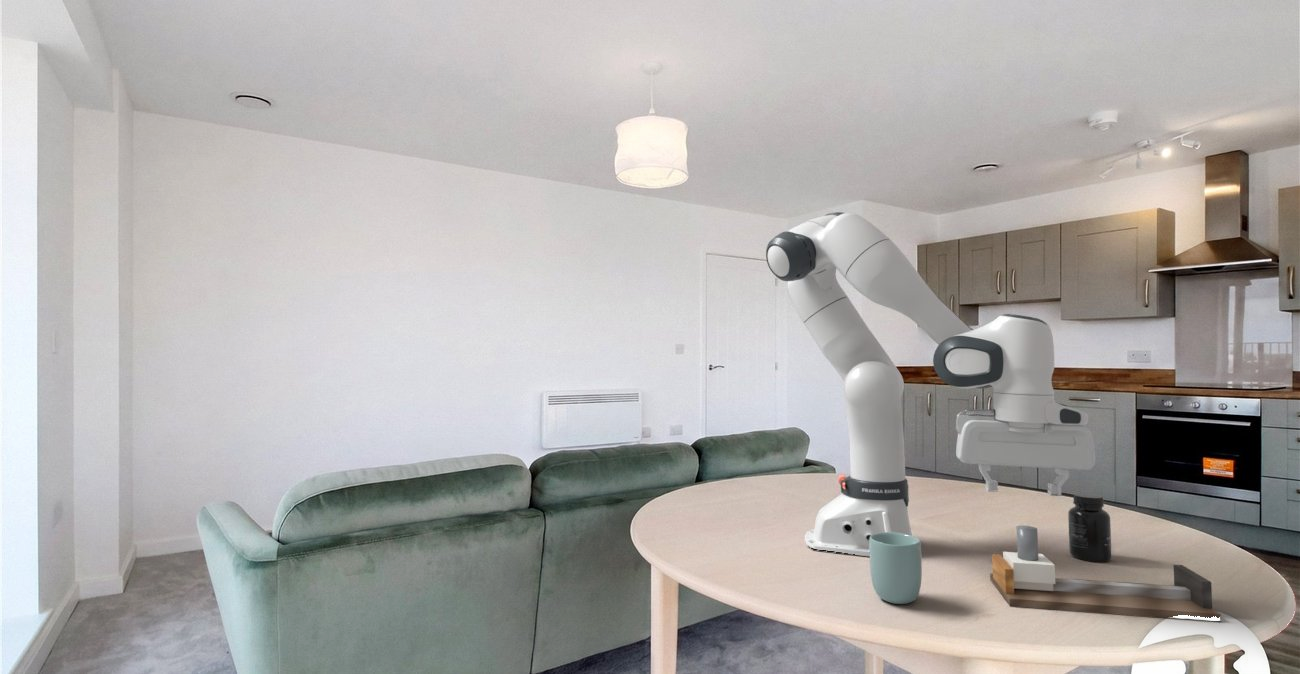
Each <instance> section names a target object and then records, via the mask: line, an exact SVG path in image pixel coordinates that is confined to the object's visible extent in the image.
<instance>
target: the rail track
mask: <svg viewBox="0 0 1300 674" xmlns="http://www.w3.org/2000/svg"><path fill="white" fill-rule="evenodd" d="M991 561H992V563H991V564H992V573H989V581H990V582H991V584H992V585H993V586H994V587H995V589H996V590H997V591H998V593H999V594H1000V595H1001V597H1002V598H1003V599H1004V601H1005V602H1006V603H1007V605H1008V606H1009V607H1015V608H1029V609H1039V610H1040V609H1042V610H1056V611H1067V612H1083V613H1096V614H1106V615H1107V614H1108V615H1121V616H1132V617H1133V616H1135V617H1147V618H1157V619H1158V618H1159V619H1161V618H1162V619H1169V618H1168V617H1173V616H1178V615H1188V616H1189V615H1190V616H1194V617H1195V616H1196V617H1197V616H1200V617H1205V618H1206V617H1207V618H1208V617H1209V618H1211V617H1213V616H1214V617H1215V616H1216V617H1217V618H1219V617H1220V616H1222V615H1221V613H1219V612H1218V611H1216V610H1215V609H1213V592H1212V591H1213V590H1212V581H1210V580H1208V579H1207V578H1205V577H1203V576H1201V575H1200V574H1198V573H1197V572H1194V571H1193V570H1191V569H1189V568H1188V567H1186V566H1184V565H1182V564H1173V565H1172V566H1173V568H1172V569H1173V585H1171V584H1159V583H1158V584H1157V583H1143V582H1126V581H1125V582H1124V581H1111V580H1097V579H1082V578H1081V579H1080V578H1079V579H1078V578H1067V577H1066V578H1065V577H1064V578H1063V577H1055V584H1053V591H1045V590H1031V589H1016V588H1014V576H1013V569H1012V568H1011V566H1010V565H1009V564H1008V563H1007V562H1006V561H1005V560H1004V559H1003V555H1001V554H998V553H995V554H994V553H991Z"/></svg>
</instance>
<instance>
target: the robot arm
mask: <svg viewBox="0 0 1300 674" xmlns="http://www.w3.org/2000/svg"><path fill="white" fill-rule="evenodd" d="M765 257H766V263H767V266H768V268H769V269H770V272H772V274H773V275H774V276H775V277H776V278H777V279H779V280H780V281H783V282H787V286H786V287H787V292H788V294H789V296H790V299H791V301H792V304H793V306H794V308H795V310H796V312H797V314H798V316H799V318H800V319H801V321H802V323H803V325H804V326H805V328H806V329H807V331H808V333H809V334H810V335H811V337H812V339H813V341H814V342H815V344H816V346H817V347H818V348H819V351H821V353H822V354H823V355H824V357H825V358H826V359H827V360H828V361H829V363H830V364H831V366H832V367H833V368H834V370H835V371H836V372H837V373H838V375H839V377H840V378H841V379H842V380H843V382H844V384H843V386H844V387H843V391H844V404H845V415H846V416H845V417H846V425H847V434H848V439H849V440H848V443H849V445H848V446H849V470H850V471H849V473H850V475H849V476H846V475H843V474H841V475H839V477H838V479H837V481H838V484H839V485H840V494H839V495H838V496H837V497H835V498H833V499H832V500H831V501H829V502H828V503H826V504H825V505H823V506H821V508H820V509H819V510H818V512H817V514H816V518H815V522H814V528H812V529H808V531H806V532H805V535H804V543H805V542H806V544H807V545H809V546H810V547H812V548H815V549H821V550H828V551H835V552H834V553H836V552H842V553H841V554H844V553H848V554H847V555H853V554H855V556H861V557H862V556H863V557H870V553H869V538H870V536H871V535H872V534H876V533H882V532H896V533H903V534H908V535H911V536H913V533H912V528H911V524H910V522H911V521H910V518H909V516H910V515H909V511H908V509H909V508H908V507H909V502H910V491H909V490H910V489H909V483H908V482H909V481H908V480H907V478H906V456H905V452H906V451H905V435H904V424H903V423H904V421H903V410H902V409H903V407H902V405H903V404H902V397H903V394H904V390H905V383H904V378H903V376H902V374H901V372H900V370H899V369H898V368H897V366H896V365H895V363H894V362H893V361H892V359H891V357H890V356H889V355H888V353H887V352H886V351H885V349H884V347H883V346H882V344H881V343H880V342H879V341H878V338H877V337H876V336H875V335H874V334H873V332H872V331H871V330H870V328H869V326H868V325H867V324H866V322H865V321H864V319H863V318H862V316H861V315H860V313H859V311H858V310H857V308H856V307H855V306H854V304H853V303H852V301H851V300H850V298H849V297H848V295H847V294H846V292H845V291H844V289H843V288H842V286H841V285H840V284H839V282H838V279H837V275H836V273H837V271H838V272H839V273H840V274H841V275H842V277H843V278H844V279H845V280H846V281H847V282H848V284H850V285H851V286H852V287H853V288H854V289H855V290H856V291H858V293H860V294H861V295H863V296H864V297H865V298H866V299H868V300H869V301H871V302H873V303H874V304H877V305H881V306H883V307H885V308H888V309H891V310H893V311H895V312H897V313H900V314H902V315H904V316H905V317H907V318H909V319H910V320H912V321H913V322H914V323H915V324H916V325H917V326H919V328H921V329H922V331H923V332H925V334H926V335H928V337H930V338H931V339H932V341H934V343H935V344H937V347H936V349H935V351H934V353H933V358H932V364H933V369H934V371H935V373H936V375H937V376H938V377H939V379H940V380H941V381H943V383H946V384H947V385H949V386H951V387H953V388H957V389H963V390H964V389H966V390H967V389H977V390H979V389H980V390H982V389H984V390H985V389H989V388H993V389H992V390H993V403H992V404H993V405H992V406H993V409H986V408H985V409H974V408H966V409H965V410H963V411H960V412H959V413H958V414H956V417H955V430H956V432H957V438H956V446H955V447H956V448H955V449H956V450H955V456H956V457H957V459H958V460H959V461H960V462H961V463H964V464H968V465H978V470H979V472H980V474H981V475H982V477H983V479H984V480H985V490H986V492H991V493H992V492H993V493H999V492H998V491H999V488H998V486H999V482H998V481H997V480H996V479H992V478H991V476H990V475H989V473H988V472H991V470H992V469H991V468H992V466H1000V467H1001V466H1002V467H1004V466H1007V467H1019V468H1021V467H1023V468H1040V469H1055V470H1054V472H1055V474H1057V476H1056V478H1055V479H1054V481H1053V483H1052V482H1051V483H1050V482H1048V483H1047V494H1048V495H1050V496H1052V497H1061V496H1062V486H1063V485H1065V483H1066V481H1067V480H1068V479H1069V478H1070V470H1073V471H1076V470H1077V471H1090V470H1092V468H1093V467H1094V466H1095V465H1096V450H1095V449H1096V448H1095V442H1094V436H1093V434H1092V432H1091V430H1090V429H1089V428H1088V427H1086V425H1087V424H1088V423H1089V414H1088V413H1087V412H1085V411H1082V410H1080V409H1077V408H1073V407H1070V406H1068V405H1066V404H1065V403H1064V404H1063V403H1057V402H1056V401H1055V390H1054V388H1053V383H1052V379H1053V378H1052V377H1053V373H1054V370H1055V346H1054V337H1053V333H1052V329H1051V327H1050V325H1048V324H1047V322H1045V321H1044V320H1042V319H1040V318H1038V317H1033V316H1028V315H1027V316H1026V315H1020V314H1012V313H1005V314H1004V313H1003V314H1000V315H998V317H997V318H996V319H994V320H992V321H990V322H989V323H987V324H984V325H982V326H980V327H978V328H975V329H974V328H972V327H970V326H969V325H968V324H967V323H966V322H965V321H964V320H962V319H961V317H959V316H958V315H957V314H956V313H955V312H954V311H952V309H951V308H950V307H949V306H947V304H945V303H944V302H943V301H942V300H941V299H940V298H939V297H938V296H937V295H936V294H935V293H934V292H933V291H932V290H931V288H930V286H929V285H928V284H927V283H926V282H925V281H924V279H923V277H922V276H921V275H920V273H919V272H918V271H917V270H916V269H915V267H914V265H913V264H912V263H911V261H910V260H909V259H908V257H907V256H906V255H905V254H904V253H903V251H902V250H901V249H900V248H899V247H898V246H897V245H896V243H894V242H893V240H892V239H890V238H889V236H887V235H886V234H885V233H884V232H883V231H881V230H880V229H879V228H878V227H877V226H875V225H874V224H873V223H871V222H870V221H868V220H866V218H864V217H862V216H860V215H859V214H857V213H853V212H842V211H841V212H839V211H838V212H830V213H827V214H825V215H822V216H819V217H815V218H811V219H808V220H806V221H804V222H802V223H801V224H798V225H796V226H794V227H792V228H790V229H788V230H787V231H782V232H780V233H779V234H777V235H776V236H774V237H773V238H772V239H771V240H770V241H769V242H768V244H767V247H766V251H765ZM806 544H805V545H806ZM807 545H806V546H807Z"/></svg>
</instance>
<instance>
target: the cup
mask: <svg viewBox="0 0 1300 674" xmlns="http://www.w3.org/2000/svg"><path fill="white" fill-rule="evenodd" d="M869 553H870V556H869V569H870V570H869V571H870V577H871V583H872V587H873V590H874V593H875V594H876V595H877V596H878V598H880V599H881V600H883V601H885V602H887V603H890V604H893V605H906V604H907V605H908V604H910V603H912V602H914V601H915V600H916V599H918V597H919V594H920V592H921V588H922V576H923V569H922V568H923V564H922V563H923V561H922V557H923V555H922V543H921V540H920V539H919V538H918V537H916V536H914V535H912V536H911V535H908V534H903V533H896V532H882V533H876V534H872V535H871V536H870V538H869Z"/></svg>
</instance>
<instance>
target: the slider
mask: <svg viewBox="0 0 1300 674" xmlns="http://www.w3.org/2000/svg"><path fill="white" fill-rule="evenodd" d="M1038 534H1039V533H1038V527H1034V526H1032V525H1017V526H1016V550H1017V551H1016V552H1013V551H1002V558H1003V559H1004V560H1005V561H1006V562H1007V563H1008V564H1009V565H1010V566H1011V568H1012V569H1013V576H1014V588H1016V589H1031V590H1045V591H1053V584H1055V578H1056V568H1055V567H1056V565H1055V564H1054V563H1053V562H1052V561H1051V560H1050V559H1049V558H1047V557H1046V556H1045V555H1044V554H1043V553H1039V542H1038V540H1039V537H1038Z"/></svg>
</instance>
